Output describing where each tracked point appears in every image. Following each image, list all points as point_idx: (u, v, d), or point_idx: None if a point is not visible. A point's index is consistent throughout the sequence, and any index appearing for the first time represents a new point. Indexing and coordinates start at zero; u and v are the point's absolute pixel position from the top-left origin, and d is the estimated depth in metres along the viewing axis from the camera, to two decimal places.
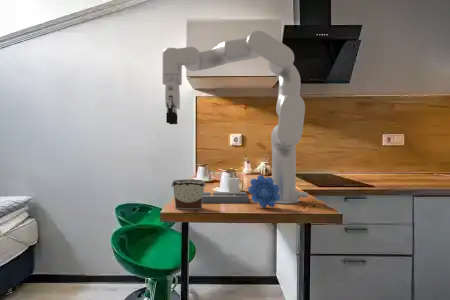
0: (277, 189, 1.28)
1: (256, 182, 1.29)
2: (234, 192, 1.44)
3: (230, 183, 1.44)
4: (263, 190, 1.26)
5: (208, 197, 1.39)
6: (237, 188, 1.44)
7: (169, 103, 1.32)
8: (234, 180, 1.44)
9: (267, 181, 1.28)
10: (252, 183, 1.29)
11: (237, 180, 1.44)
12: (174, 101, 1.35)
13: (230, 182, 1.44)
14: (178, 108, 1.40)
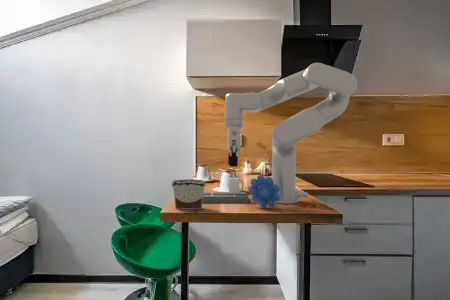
0: (277, 189, 1.28)
1: (256, 182, 1.29)
2: (234, 192, 1.44)
3: (230, 183, 1.44)
4: (263, 190, 1.26)
5: (208, 197, 1.39)
6: (237, 188, 1.44)
7: (234, 148, 1.37)
8: (234, 180, 1.44)
9: (267, 181, 1.28)
10: (252, 183, 1.29)
11: (237, 180, 1.44)
12: (237, 145, 1.40)
13: (230, 182, 1.44)
14: None
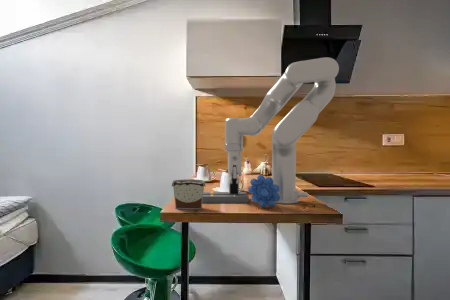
0: (277, 189, 1.28)
1: (256, 182, 1.29)
2: None
3: (230, 183, 1.44)
4: (263, 190, 1.26)
5: (208, 197, 1.39)
6: None
7: (234, 179, 1.40)
8: None
9: (267, 181, 1.28)
10: (252, 183, 1.29)
11: None
12: (238, 170, 1.40)
13: (230, 182, 1.44)
14: (240, 175, 1.45)
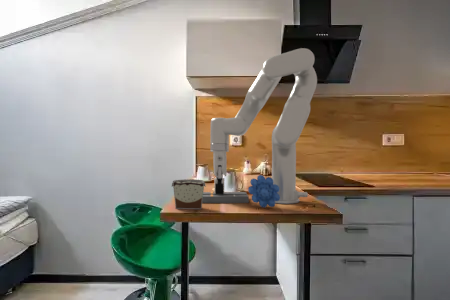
0: (277, 189, 1.28)
1: (256, 182, 1.29)
2: None
3: (215, 183, 1.43)
4: (263, 190, 1.26)
5: (208, 197, 1.39)
6: None
7: (219, 179, 1.39)
8: None
9: (267, 181, 1.28)
10: (252, 183, 1.29)
11: None
12: (223, 170, 1.40)
13: (215, 182, 1.43)
14: None
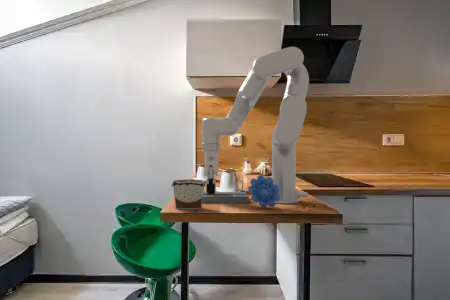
0: (277, 189, 1.28)
1: (256, 182, 1.29)
2: None
3: None
4: (263, 190, 1.26)
5: (208, 197, 1.39)
6: None
7: (210, 179, 1.39)
8: None
9: (267, 181, 1.28)
10: (252, 183, 1.29)
11: (214, 180, 1.43)
12: (214, 170, 1.40)
13: None
14: None
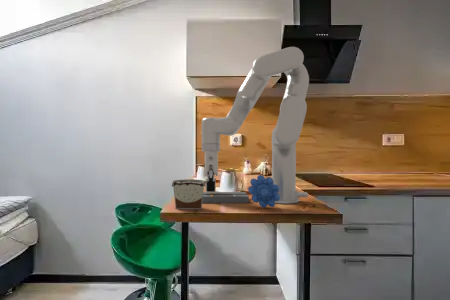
0: (277, 189, 1.28)
1: (256, 182, 1.29)
2: (211, 192, 1.44)
3: None
4: (263, 190, 1.26)
5: (208, 197, 1.39)
6: None
7: (210, 174, 1.37)
8: None
9: (267, 181, 1.28)
10: (252, 183, 1.29)
11: (214, 180, 1.43)
12: (214, 170, 1.40)
13: None
14: None
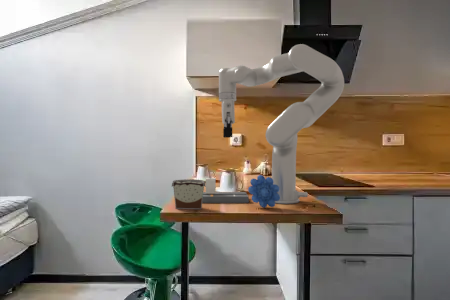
0: (277, 189, 1.28)
1: (256, 182, 1.29)
2: (211, 192, 1.44)
3: (207, 183, 1.43)
4: (263, 190, 1.26)
5: (208, 197, 1.39)
6: (214, 188, 1.44)
7: (228, 119, 1.45)
8: (211, 180, 1.43)
9: (267, 181, 1.28)
10: (252, 183, 1.29)
11: (214, 180, 1.43)
12: (231, 117, 1.48)
13: (207, 182, 1.43)
14: (233, 123, 1.53)
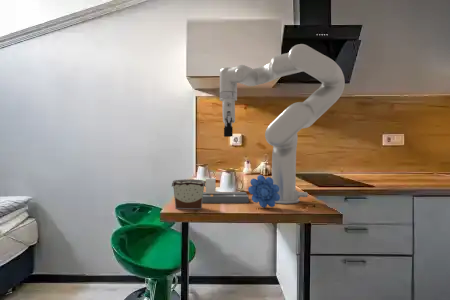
0: (277, 189, 1.28)
1: (256, 182, 1.29)
2: (211, 192, 1.44)
3: (207, 183, 1.43)
4: (263, 190, 1.26)
5: (208, 197, 1.39)
6: (214, 188, 1.44)
7: (228, 118, 1.45)
8: (211, 180, 1.43)
9: (267, 181, 1.28)
10: (252, 183, 1.29)
11: (214, 180, 1.43)
12: (232, 116, 1.48)
13: (207, 182, 1.43)
14: None
